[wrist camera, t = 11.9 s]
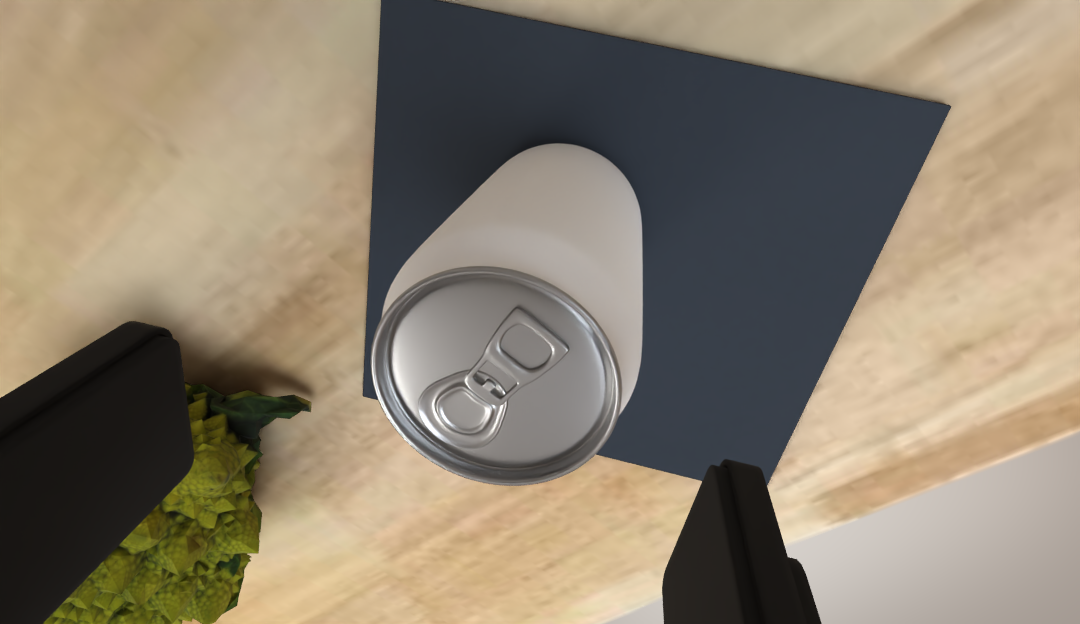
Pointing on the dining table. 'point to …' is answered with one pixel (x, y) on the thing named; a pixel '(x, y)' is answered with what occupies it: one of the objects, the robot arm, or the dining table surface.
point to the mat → (661, 203)
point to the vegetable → (190, 525)
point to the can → (518, 322)
